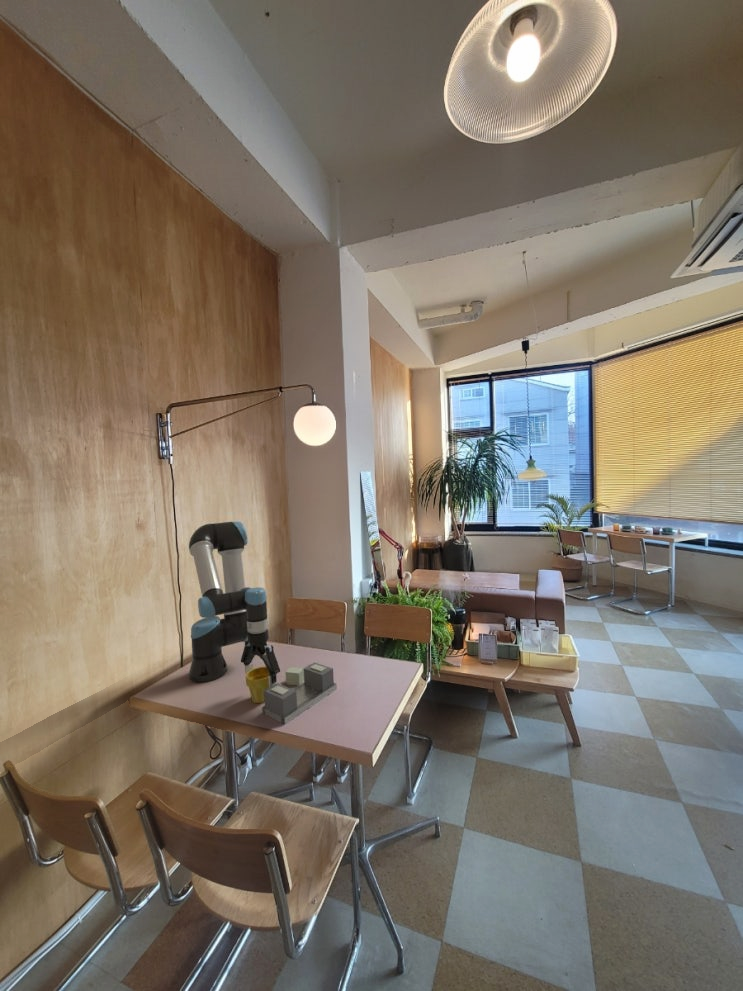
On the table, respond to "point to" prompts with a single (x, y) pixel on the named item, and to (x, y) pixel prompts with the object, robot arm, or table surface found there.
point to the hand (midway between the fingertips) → (261, 686)
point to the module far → (318, 676)
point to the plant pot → (257, 683)
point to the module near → (280, 699)
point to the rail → (301, 701)
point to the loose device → (294, 676)
